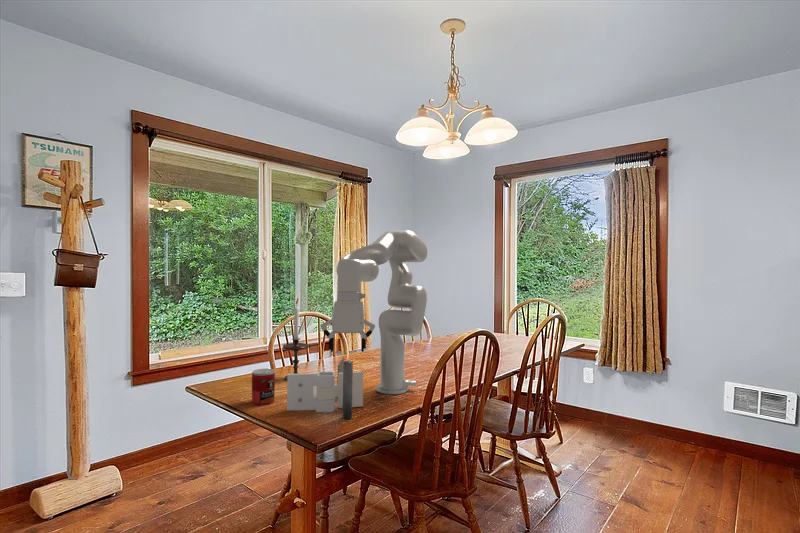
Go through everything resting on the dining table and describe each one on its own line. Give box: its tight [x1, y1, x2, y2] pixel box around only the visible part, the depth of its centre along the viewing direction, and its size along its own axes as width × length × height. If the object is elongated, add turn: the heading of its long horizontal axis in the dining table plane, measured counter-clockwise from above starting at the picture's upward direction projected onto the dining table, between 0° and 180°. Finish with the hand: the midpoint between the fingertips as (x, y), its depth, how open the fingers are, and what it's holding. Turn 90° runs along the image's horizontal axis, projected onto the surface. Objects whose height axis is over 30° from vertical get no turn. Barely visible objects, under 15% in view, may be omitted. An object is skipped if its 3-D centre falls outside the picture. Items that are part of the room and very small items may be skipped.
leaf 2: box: [317, 371, 364, 409], centre depth 145 cm, size 16×6×12 cm, turn 104°
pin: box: [341, 360, 354, 421], centre depth 136 cm, size 3×3×18 cm
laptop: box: [313, 355, 345, 402], centre depth 162 cm, size 18×12×13 cm
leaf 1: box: [286, 371, 336, 413], centre depth 143 cm, size 16×6×12 cm, turn 96°
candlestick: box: [282, 298, 310, 382], centre depth 182 cm, size 11×11×35 cm
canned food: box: [251, 368, 276, 406], centre depth 151 cm, size 8×8×11 cm
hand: (347, 350), depth 135 cm, fingers open, 9 cm apart
